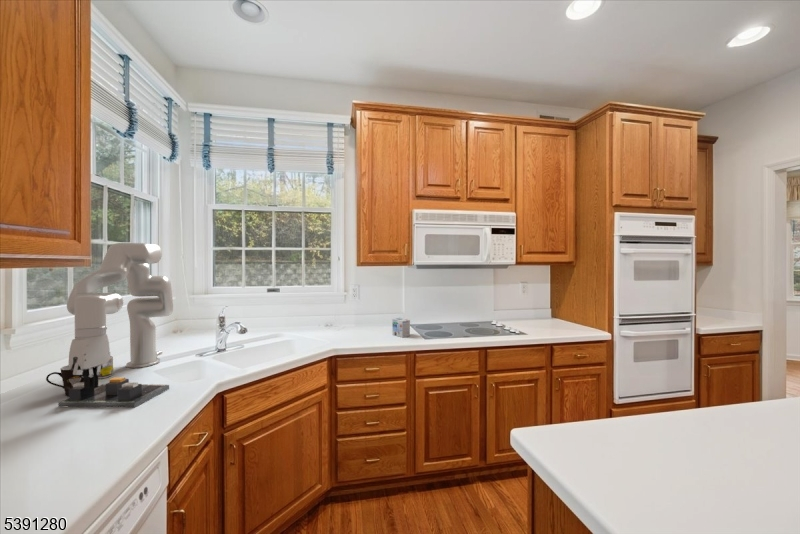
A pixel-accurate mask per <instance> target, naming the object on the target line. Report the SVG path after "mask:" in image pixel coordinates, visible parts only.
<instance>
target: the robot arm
mask: <svg viewBox="0 0 800 534" xmlns="http://www.w3.org/2000/svg"><path fill="white" fill-rule="evenodd" d="M162 256H163V253H162V249H161V247H160V246H159V245H158V244H155V243H143V242H142V243H141V242H138V243H137V242H117V243H113V244H111V245H110V246H109V247H108V248H107V251H106V253H105V255H104V257H103V260H102V262H101V264H100V267H99V269H97V270H96V271H93V272H91V273H90V274H87V275H86V276H84V277H83V278H81V279H80V280H78V281H77V283H75V284H74V286H73V287H72V290H71V291H70V294H69V296H68V299H67V302H66V309H67V311H68V313H70V314H71V315H74V338H73V339H71V343H70V347H69V352H68V364H67V365H69V370H73V375H81V376H82V377H83V378H84V389H95V388H97V387H98V386H99V378H98V375H99V374H100V371H101V369H102V368H103V367H105V366H107V364H108V363H107V362H108V361H109V359H110V356H111V351H110V349H111V348H110V342H109V337H108V334H107V329H108V327H107V315H112V314H115V313H118V312H120V310H121V309H122V308H123V306H124V300H123V297H122V295H120V294H119V293H115V292H95V291H97V290H99V289H103V288H106V287H109V286H113V285H115V284H119V283H121V282H123V281H125V280H126V281H127V287H128V292H129V294H130V295H131V296H132V297H137V298H132V299H130V300H129V301H128V303H127V305H126V310H127V314H128V320H129V335H130V336H129V340H130V341H129V342H130V343H129V344H130V345H129V346H130V349H129V350H130V352H129V353H130V361H128V362H127V363H126V367H127V368H128V369H129V368H131V369H138V368H144V367H150V366H154V365H156V364H159V363H160V362H161V359H160V358H159V357H158V356H160V355H162V354H163V351H162V350H158V351H157V348H156V347H157V343H156V342H157V341H156V340H157V339H156V338H157V337H156V336H157V334H156V333H157V331H156V330H157V329H156V327H157V326H156V324H155V322H154V321H153V320H152V319H151V318H159V317H160V318H164V317H168V316H169V317H170V316H171V315H172V313H173V311H174V302H173V300H174V299H173V290H172V284H171V280H170V279H169V278H168V276H164V275H151V271H150V270H151V269H150V265H152V264H153V265H154V264H157V263H160V261H161V259H162ZM149 264H150V265H149Z"/></svg>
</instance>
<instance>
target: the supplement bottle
mask: <svg viewBox="0 0 800 534" xmlns="http://www.w3.org/2000/svg"><path fill="white" fill-rule="evenodd" d="M107 363H108V364H107V366H105V367H103V368H102V369H101V371H100V374H99V375H98V380H99V379H100V380H101V379H107V378H109V377H112V376H113V375H114V357H113V356H112V355H110V359H109V361H108V362H107Z"/></svg>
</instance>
